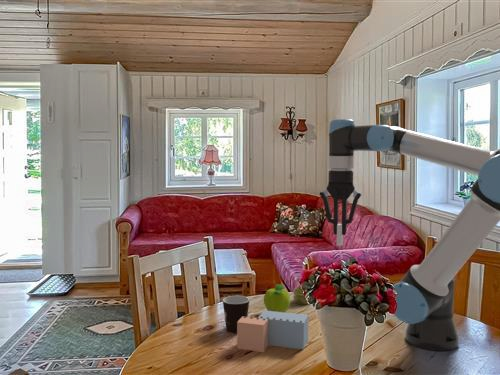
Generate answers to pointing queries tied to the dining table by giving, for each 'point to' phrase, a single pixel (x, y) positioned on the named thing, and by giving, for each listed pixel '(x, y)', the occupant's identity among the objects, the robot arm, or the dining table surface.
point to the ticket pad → (286, 329)
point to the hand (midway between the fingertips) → (339, 244)
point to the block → (252, 334)
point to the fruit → (277, 299)
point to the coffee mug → (234, 311)
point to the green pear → (299, 295)
